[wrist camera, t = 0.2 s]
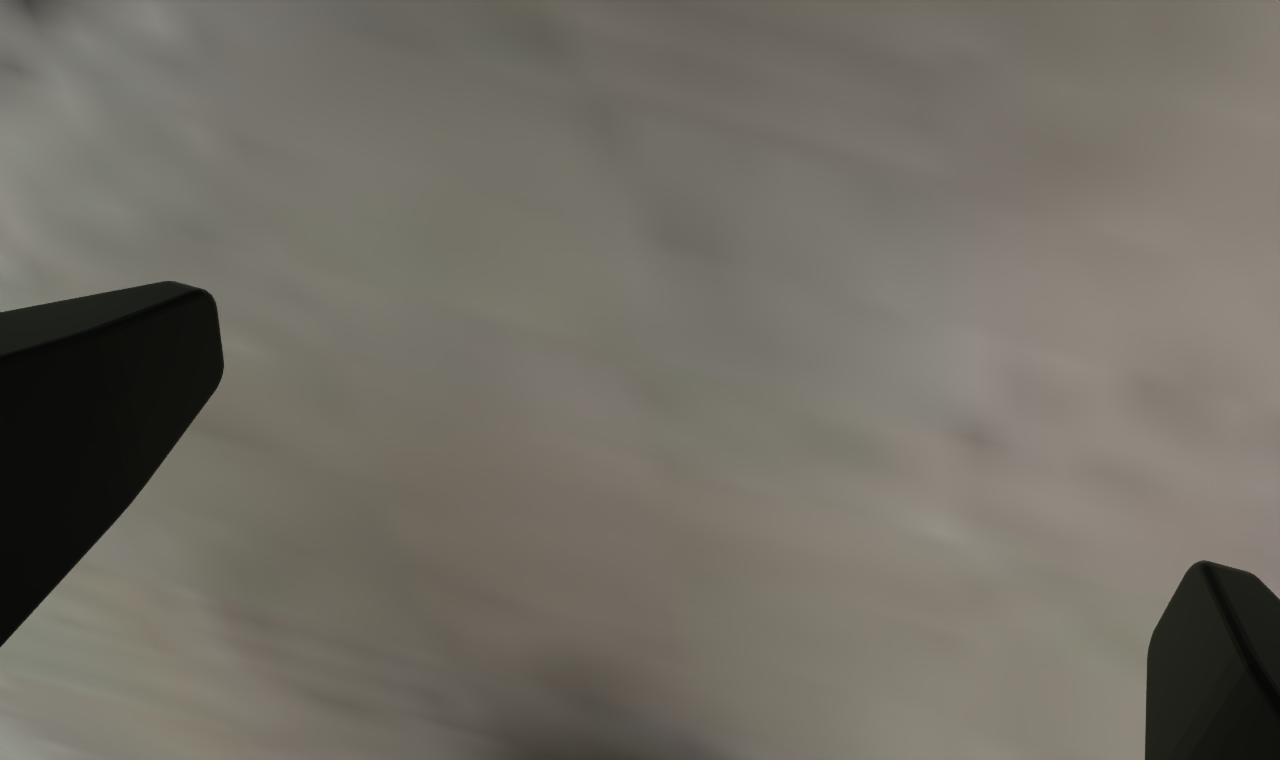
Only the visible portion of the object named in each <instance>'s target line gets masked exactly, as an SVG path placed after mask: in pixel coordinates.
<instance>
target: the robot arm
mask: <svg viewBox="0 0 1280 760" xmlns="http://www.w3.org/2000/svg"><path fill="white" fill-rule="evenodd" d="M223 369H224V359H223V351H222V343H221V335H220V327H219V319H218V312H217V306H216V302H215V300H214V298H213V296H212V295H211V294H210V293H209V292H207V291H206V290H204V289H200V288H197V287H193V286H189V285H186V284H182V283H178V282H175V281H164V282H159V283H153V284H148V285H143V286H137V287H132V288H127V289H122V290H116V291H111V292H106V293H100V294H95V295H90V296H85V297H79V298H74V299H69V300H63V301H58V302H53V303H48V304H42V305H37V306H32V307H26V308H21V309H16V310H11V311H5V312H0V647H1V646H2V645H3V644H4V643H5V642H6V641H7V640H8V638H9V637H10V636H11V635H12V634H13V633H14V632H15V631H16V630H17V629H18V627H19V626H20V625H21V624H22V623H23V622H24V621H25V620H26V619H27V618H28V617H29V615H30V614H31V613H32V612H33V611H34V610H35V609H36V608H37V607H38V606H39V604H40V603H41V602H42V601H43V600H44V599H45V598H46V597H47V596H48V595H49V594H50V592H51V591H52V590H53V589H54V588H55V587H56V586H57V585H58V584H59V583H60V582H61V580H62V579H63V578H64V577H65V576H66V575H67V574H68V573H69V572H70V571H71V569H72V568H73V567H74V566H75V565H76V564H77V563H78V562H79V561H80V560H81V559H82V557H83V556H84V555H85V554H86V553H87V552H88V551H89V550H90V549H91V548H92V546H93V545H94V544H95V543H96V542H97V541H98V540H99V539H100V538H101V537H102V536H103V534H104V533H105V532H106V531H107V530H108V529H109V528H110V527H111V526H112V525H113V523H114V522H115V521H116V520H117V519H118V518H119V517H120V516H121V514H122V513H123V512H124V511H125V510H126V509H127V507H128V506H129V505H130V504H131V503H132V502H133V500H134V499H135V498H136V496H137V495H138V494H139V493H140V491H141V490H142V489H143V487H144V486H145V485H146V484H147V482H148V481H149V480H150V478H151V477H152V476H153V474H154V473H155V471H156V470H157V469H158V467H159V466H160V465H161V463H162V462H163V461H164V459H165V458H166V457H167V455H168V454H169V453H170V451H171V450H172V448H173V447H174V446H175V444H176V443H177V442H178V440H179V439H180V438H181V436H182V435H183V434H184V432H185V431H186V430H187V428H188V427H189V426H190V424H191V423H192V421H193V420H194V419H195V417H196V416H197V415H198V413H199V412H200V411H201V409H202V408H203V407H204V405H205V404H206V403H207V401H208V400H209V398H210V397H211V396H212V394H213V393H214V392H215V390H216V389H217V387H218V385H219V383H220V381H221V378H222V374H223ZM1145 760H1280V599H1279V598H1278V597H1277V596H1276V595H1275V594H1274V593H1273V592H1272V591H1271V590H1270V589H1269V588H1268V587H1267V586H1266V585H1265V584H1264V583H1263V582H1262V581H1261V580H1260V579H1259V578H1257V577H1256V576H1255V575H1254V574H1252V573H1250V572H1247V571H1243V570H1240V569H1236V568H1232V567H1228V566H1225V565H1221V564H1217V563H1213V562H1210V561H1204V560H1203V561H1199V562H1197V563H1194V564H1193V565H1192V566H1191V567H1190V568H1189V569H1188V571H1187V572H1186V574H1185V575H1184V577H1183V579H1182V581H1181V582H1180V584H1179V586H1178V588H1177V590H1176V591H1175V593H1174V595H1173V597H1172V599H1171V600H1170V602H1169V604H1168V606H1167V608H1166V609H1165V611H1164V613H1163V615H1162V617H1161V619H1160V620H1159V622H1158V624H1157V626H1156V628H1155V630H1154V632H1153V634H1152V637H1151V640H1150V644H1149V649H1148V656H1147V689H1146V733H1145Z"/></svg>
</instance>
